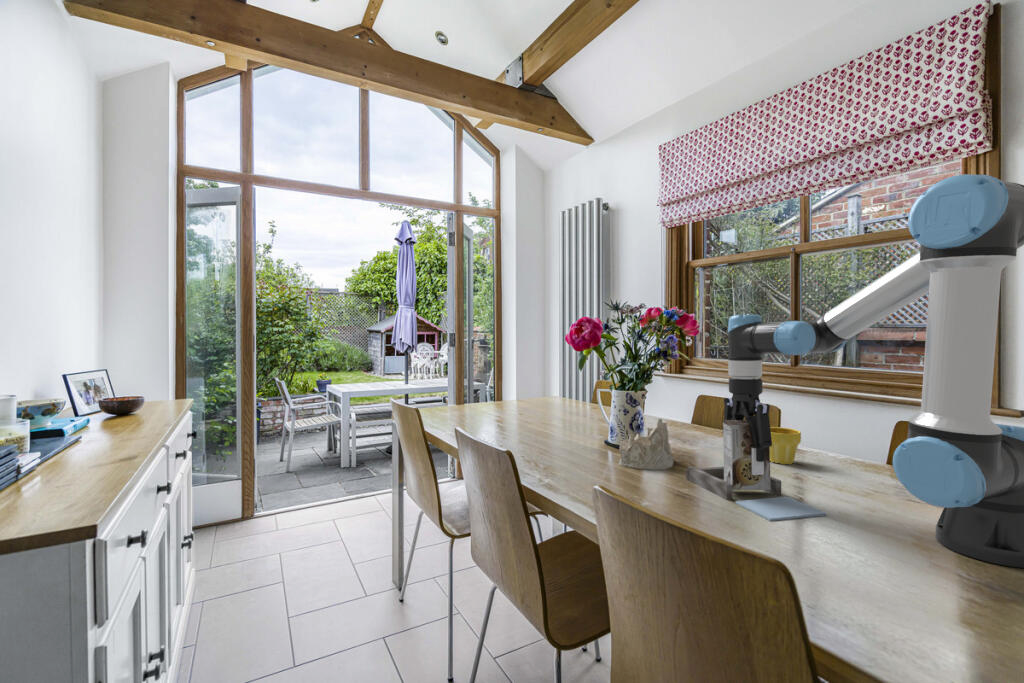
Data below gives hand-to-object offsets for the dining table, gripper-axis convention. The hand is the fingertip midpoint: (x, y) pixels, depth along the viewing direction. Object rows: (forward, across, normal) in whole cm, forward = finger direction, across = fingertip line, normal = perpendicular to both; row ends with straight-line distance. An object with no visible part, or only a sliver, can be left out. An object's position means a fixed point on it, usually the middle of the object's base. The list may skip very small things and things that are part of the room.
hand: (746, 469), depth 119 cm
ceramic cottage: (+6, +32, +10) cm, 35 cm away
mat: (+6, -11, 0) cm, 12 cm away
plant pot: (+6, +23, -30) cm, 38 cm away
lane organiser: (+6, +5, 0) cm, 8 cm away
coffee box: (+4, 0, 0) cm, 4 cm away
